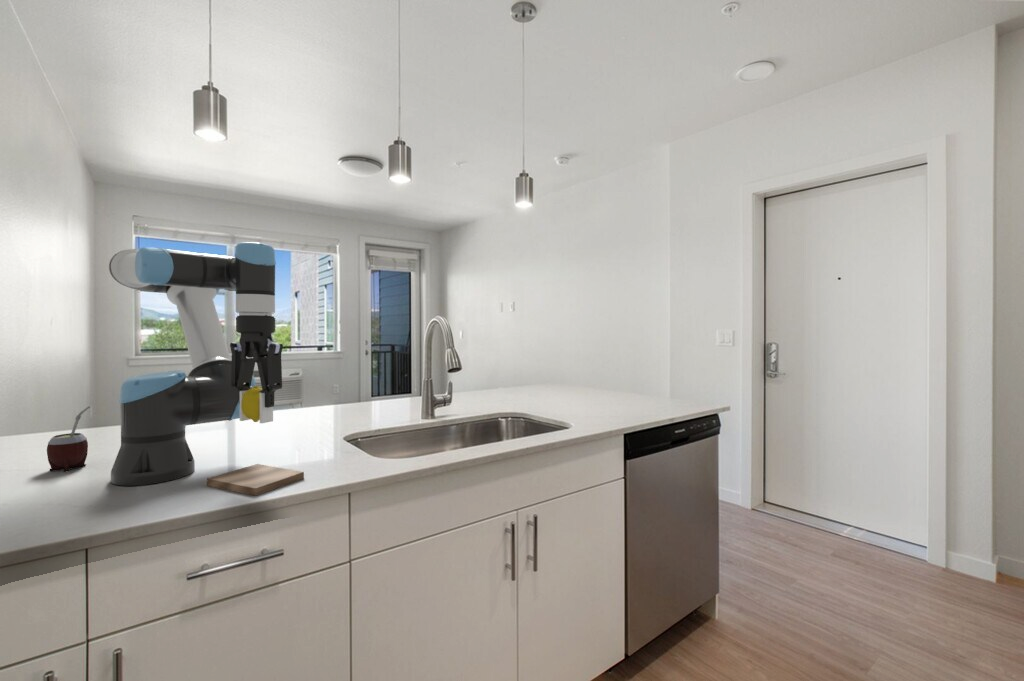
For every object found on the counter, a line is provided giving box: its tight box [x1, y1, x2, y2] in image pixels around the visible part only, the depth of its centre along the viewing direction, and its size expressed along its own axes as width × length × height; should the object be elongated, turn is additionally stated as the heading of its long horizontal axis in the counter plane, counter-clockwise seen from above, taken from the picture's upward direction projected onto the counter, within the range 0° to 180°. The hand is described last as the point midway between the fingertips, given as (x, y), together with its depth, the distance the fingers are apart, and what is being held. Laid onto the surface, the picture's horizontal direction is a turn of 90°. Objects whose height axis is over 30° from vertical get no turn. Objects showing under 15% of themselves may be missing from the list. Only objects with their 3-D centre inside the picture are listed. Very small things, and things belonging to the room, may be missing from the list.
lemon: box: [241, 385, 262, 423], centre depth 101 cm, size 6×6×8 cm
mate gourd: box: [46, 406, 91, 473], centre depth 111 cm, size 8×8×15 cm
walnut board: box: [206, 463, 305, 496], centre depth 102 cm, size 15×12×2 cm
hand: (256, 420), depth 102 cm, fingers closed on lemon, 5 cm apart
